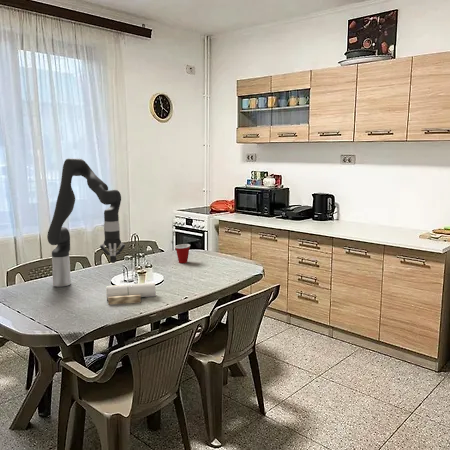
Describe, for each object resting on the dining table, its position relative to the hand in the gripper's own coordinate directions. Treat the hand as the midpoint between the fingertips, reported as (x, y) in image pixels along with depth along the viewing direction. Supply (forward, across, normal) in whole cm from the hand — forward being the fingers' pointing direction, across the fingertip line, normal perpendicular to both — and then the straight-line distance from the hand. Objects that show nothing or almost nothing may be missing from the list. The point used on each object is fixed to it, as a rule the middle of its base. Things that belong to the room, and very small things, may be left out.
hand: (113, 262), depth 227 cm
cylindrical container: (+16, +4, -1) cm, 17 cm away
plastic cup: (+20, -44, -66) cm, 82 cm away
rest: (+20, -5, 0) cm, 21 cm away
